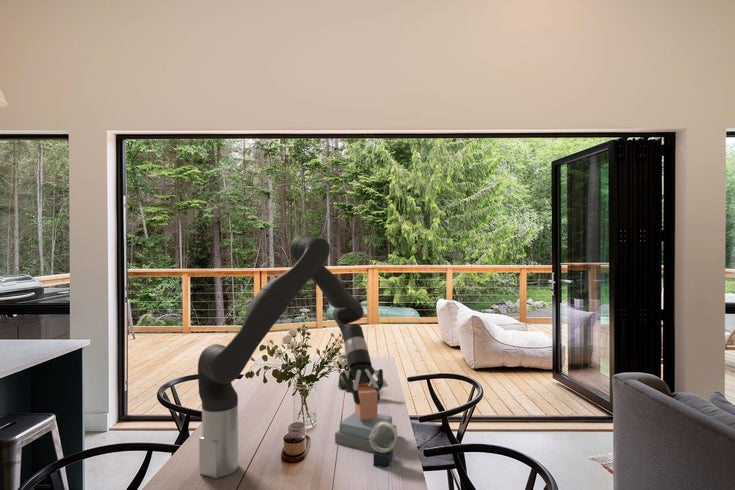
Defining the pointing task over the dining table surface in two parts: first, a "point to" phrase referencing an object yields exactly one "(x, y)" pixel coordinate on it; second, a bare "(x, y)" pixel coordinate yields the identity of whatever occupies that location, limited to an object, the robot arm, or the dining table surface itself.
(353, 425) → the two-tier stepped box
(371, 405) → the terracotta brick
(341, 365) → the character mug
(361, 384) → the bull figurine
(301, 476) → the dining table surface
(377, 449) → the grey ring on block
